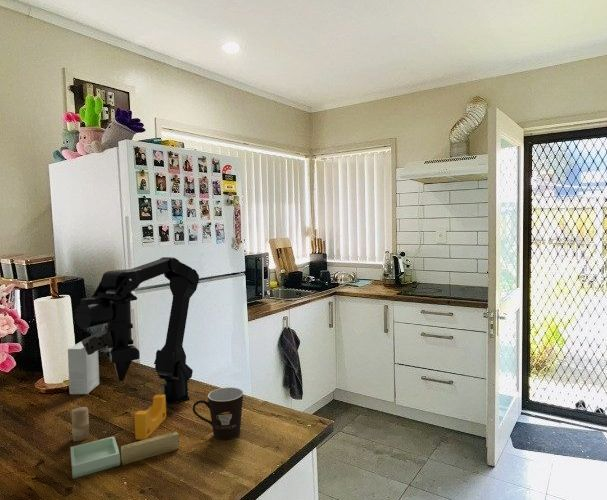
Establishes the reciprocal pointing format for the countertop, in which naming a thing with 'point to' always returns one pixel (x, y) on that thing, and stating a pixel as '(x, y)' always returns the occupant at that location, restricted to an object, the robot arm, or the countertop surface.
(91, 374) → the skincare box
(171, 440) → the bar
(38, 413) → the countertop surface
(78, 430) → the oak dowel
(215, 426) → the coffee mug
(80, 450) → the tray
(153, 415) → the pipe clamp
